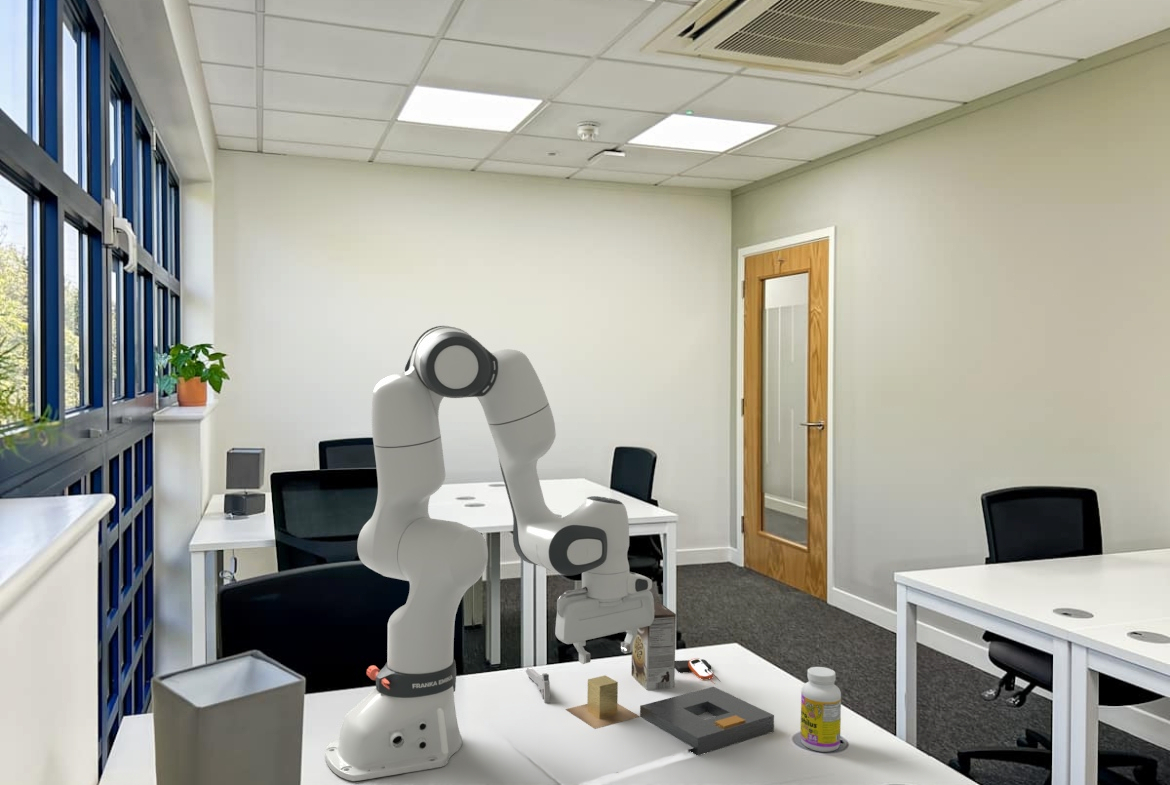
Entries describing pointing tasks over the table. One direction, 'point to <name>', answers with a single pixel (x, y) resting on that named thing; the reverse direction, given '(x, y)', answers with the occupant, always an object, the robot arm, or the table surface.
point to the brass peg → (602, 697)
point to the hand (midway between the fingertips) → (606, 657)
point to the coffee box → (655, 651)
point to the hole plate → (714, 733)
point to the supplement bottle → (820, 710)
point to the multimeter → (695, 668)
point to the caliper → (541, 683)
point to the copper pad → (595, 722)
